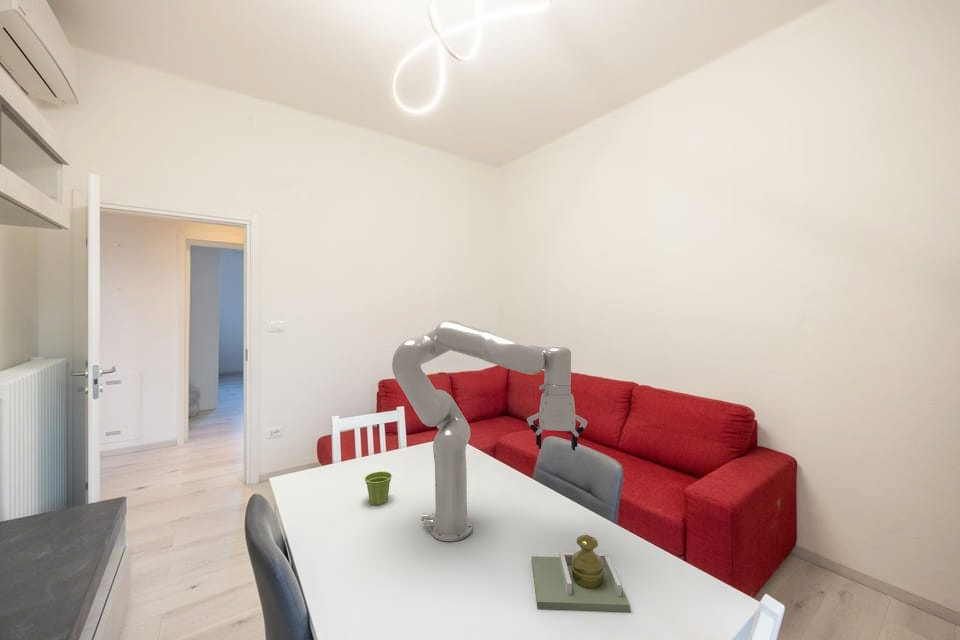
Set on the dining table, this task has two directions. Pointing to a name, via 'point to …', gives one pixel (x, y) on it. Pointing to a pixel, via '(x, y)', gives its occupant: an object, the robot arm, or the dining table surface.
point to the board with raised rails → (575, 586)
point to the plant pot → (378, 487)
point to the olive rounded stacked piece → (587, 563)
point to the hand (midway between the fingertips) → (556, 448)
